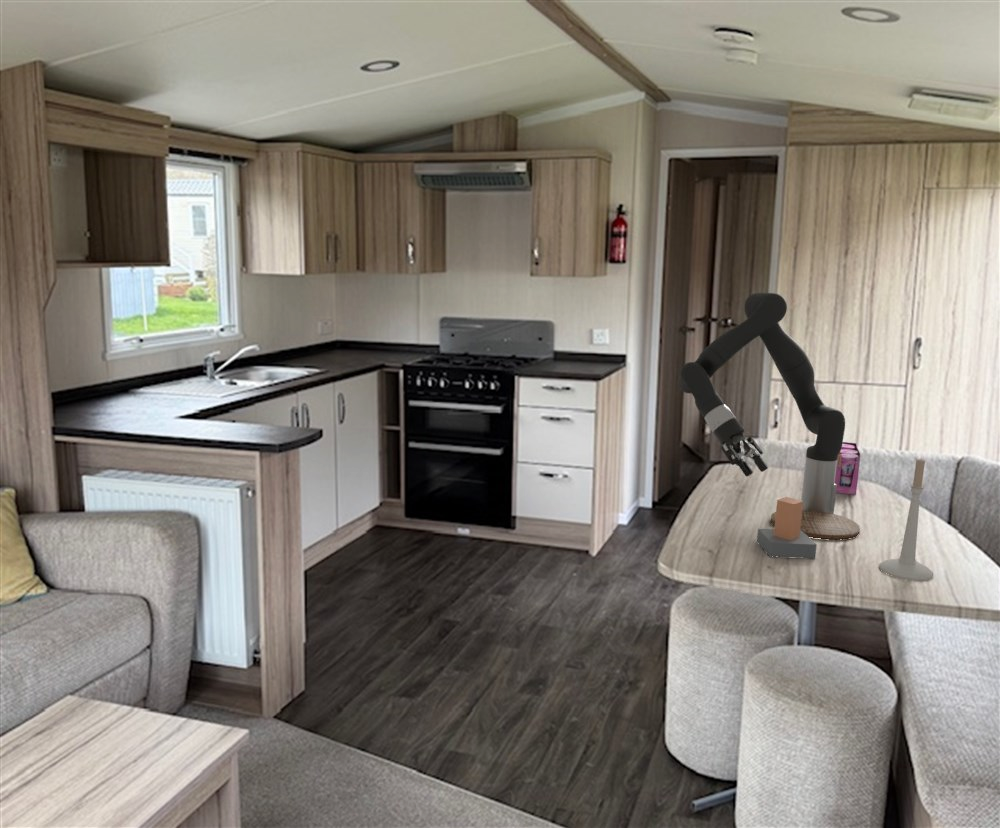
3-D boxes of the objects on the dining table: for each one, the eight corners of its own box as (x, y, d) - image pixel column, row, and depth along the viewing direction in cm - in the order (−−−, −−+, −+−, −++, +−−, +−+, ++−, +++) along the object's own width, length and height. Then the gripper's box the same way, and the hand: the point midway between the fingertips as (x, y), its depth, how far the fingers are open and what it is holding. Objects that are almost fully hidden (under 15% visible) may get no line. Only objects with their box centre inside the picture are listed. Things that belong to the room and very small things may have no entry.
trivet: (866, 545, 254) (867, 539, 253) (774, 536, 258) (774, 529, 258) (851, 519, 278) (851, 513, 278) (766, 511, 283) (767, 505, 282)
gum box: (857, 496, 305) (861, 456, 302) (832, 493, 307) (836, 454, 304) (852, 479, 327) (856, 443, 325) (829, 477, 329) (833, 440, 327)
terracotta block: (782, 532, 248) (785, 496, 246) (799, 536, 245) (803, 501, 243) (773, 535, 244) (777, 500, 242) (790, 540, 241) (794, 504, 239)
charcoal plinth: (799, 544, 251) (801, 530, 250) (815, 558, 239) (816, 544, 239) (756, 542, 251) (758, 528, 250) (769, 557, 239) (771, 542, 238)
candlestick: (887, 559, 242) (901, 449, 236) (939, 571, 234) (955, 458, 228) (872, 571, 232) (886, 457, 226) (925, 584, 224) (941, 467, 218)
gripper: (720, 419, 246) (754, 468, 241) (745, 414, 257) (779, 461, 251) (701, 435, 251) (735, 484, 245) (727, 429, 261) (760, 475, 256)
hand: (757, 472), depth 248 cm, fingers open, 8 cm apart
